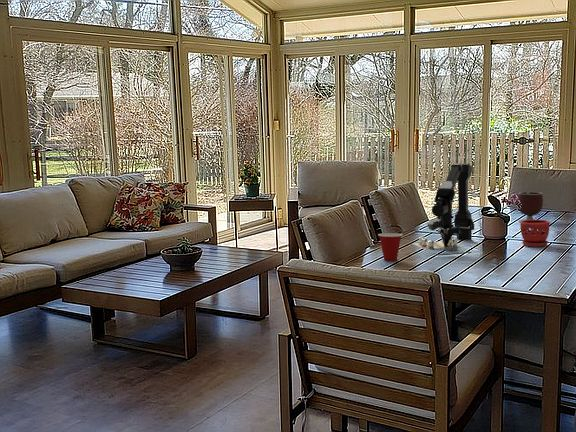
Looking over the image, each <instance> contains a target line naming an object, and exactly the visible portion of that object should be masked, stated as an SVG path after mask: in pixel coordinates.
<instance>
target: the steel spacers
mask: <svg viewBox="0 0 576 432" xmlns="http://www.w3.org/2000/svg"><path fill="white" fill-rule="evenodd" d="M441 241H442V243H443V240H442V239H441ZM427 242H428V248H430V249H429V250H432V248H434V242H435V240H432V239H429V240H428V238H426V237H425V236H419V237H418V243H419V244H422V246H423V247H426V246H427ZM449 244H450V245H457V244H458V239H457V238H455V236H452V237H451V239H450V241H449Z"/></svg>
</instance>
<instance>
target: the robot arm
mask: <svg viewBox="0 0 576 432" xmlns="http://www.w3.org/2000/svg"><path fill="white" fill-rule="evenodd" d="M472 173H473V166H472V165H471V164H470V163H451V165H450V170H449V173H448V174H447V176H446V178H445V181H444V182H443V183H442V184H440V185H439V187H438V188H437V190H436V194H435V197H434V203H435V204H434V205H433V206H432V208H431V212H432V215H434V216H435V217H437V218H436V219H433V220H431V221H429V222H427V223H426V224H427V227H428V230H430V231H436V230H437V229H438V230H437V231H436V232H437V233H438V234H439V235H440V237H441V241H442V240H443V244H444V245H448V243H449V241H450V239H451V237H453V235H456V239H457V241H470V242H474V240H473V238H472V237H473V236H472V235H473V233H472V231H474V230H475V222H474V220H473V217H472V213H471V212H470V210H469V191H468V190H469V180H470V178H471V176H472ZM456 184H457V191H458V192H457V199H458V200H457V203H458V204H457V205H458V206H457V207H458V208H457V209H458V210H457V211H456V213H455V214H454V215H453V202H454V199H455V196H456V191H455V187H456ZM453 219H454V221H453ZM453 222H454V223H453Z"/></svg>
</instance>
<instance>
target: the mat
mask: <svg viewBox="0 0 576 432" xmlns="http://www.w3.org/2000/svg"><path fill="white" fill-rule="evenodd" d="M462 254H472V251H467V252H466V251H465V252H454V253H441V254H440V253H439V254H434V256H436V257H437V256H449V255H462Z"/></svg>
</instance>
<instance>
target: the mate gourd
mask: <svg viewBox="0 0 576 432" xmlns="http://www.w3.org/2000/svg"><path fill="white" fill-rule="evenodd" d="M518 198H519V200H520V202H521V204H522V209H518V211H519V212H520V213H521V214H522V215H525V216H526V219H519V220H518V223H520V222H521V221H524V220H535V219H534V217H533V216H535V215H538V214H539V213H540V212H541V211H542V210H543V206H544V205H543V204H544V199H543V192H538V191H529V190H528V189H525V191H521V192H518V195H517V199H518Z"/></svg>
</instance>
